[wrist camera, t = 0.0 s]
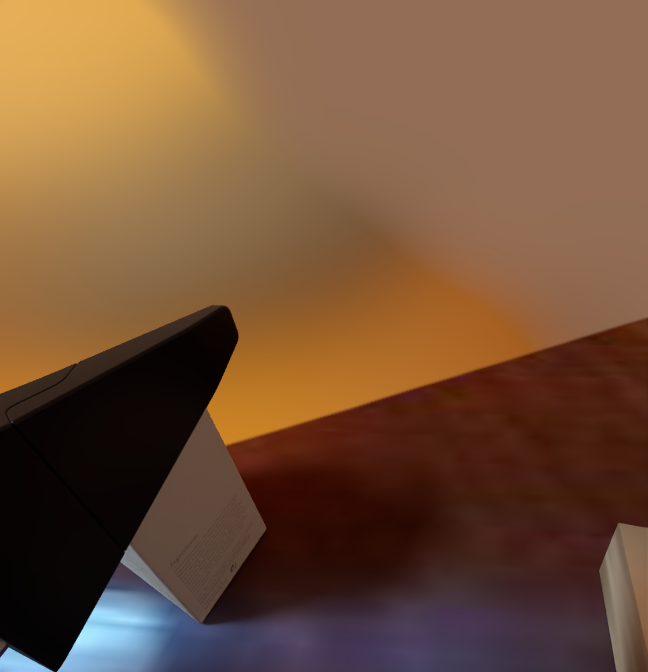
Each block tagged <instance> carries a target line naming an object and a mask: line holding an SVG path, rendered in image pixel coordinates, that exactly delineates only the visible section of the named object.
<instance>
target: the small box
mask: <svg viewBox="0 0 648 672" xmlns="http://www.w3.org/2000/svg"><path fill="white" fill-rule="evenodd" d="M265 531H266V526H265V524H264V522H263V520H262V518H261V516H260V514H259V512H258V510H257V508H256V506H255V504H254V502H253V500H252V498H251V496H250V494H249V492H248V490H247V488H246V486H245V484H244V482H243V480H242V478H241V476H240V474H239V472H238V470H237V468H236V466H235V464H234V462H233V460H232V458H231V456H230V454H229V452H228V450H227V448H226V446H225V444H224V442H223V440H222V438H221V436H220V434H219V432H218V431H217V429H216V427H215V425H214V423H213V421H212V419H211V417H210V414H209V413H208V411H207V409H205V411H204V413H203V415H202V417H201V418H200V420H199V422H198V424H197V425H196V427H195V429H194V431H193V433H192V434H191V436H190V438H189V440H188V441H187V443H186V445H185V447H184V449H183V450H182V452H181V454H180V456H179V457H178V459H177V461H176V463H175V465H174V466H173V468H172V470H171V472H170V474H169V475H168V477H167V479H166V481H165V482H164V484H163V486H162V488H161V490H160V491H159V493H158V495H157V497H156V498H155V500H154V502H153V504H152V506H151V507H150V509H149V511H148V513H147V514H146V516H145V518H144V520H143V522H142V523H141V525H140V527H139V529H138V530H137V532H136V534H135V536H134V538H133V539H132V541H131V543H130V545H129V546H128V548H127V550H126V551H124V552H125V554H124V556H123V558H122V560H121V561H120V562H121V563H123V564H124V565H125V566H126V567H128V568H129V569H130V570H132V571H133V572H134V573H135V574H137V575H138V576H139V577H141V578H142V579H143V580H144V581H146V582H147V583H148V584H150V585H151V586H152V587H154V588H155V589H156V590H157V591H159V592H160V593H161V594H163V595H164V596H165V597H166V598H168V599H169V600H170V601H172V602H173V603H174V604H176V605H177V606H178V607H179V608H181V609H182V610H183V611H184V612H186V613H187V614H188V615H189V616H191V617H192V618H193V619H194V620H196V621H197V622H198V623H202V622H203V621H204V619H205V618H206V616H207V615H208V613H209V612H210V610H211V609H212V608H213V606H214V605H215V603H216V602H217V600H218V599H219V597H220V596H221V594H222V593H223V592H224V590H225V589H226V587H227V586H228V584H229V583H230V581H231V580H232V578H233V577H234V575H235V574H236V573H237V571H238V570H239V568H240V567H241V565H242V564H243V562H244V561H245V559H246V558H247V557H248V555H249V554H250V552H251V551H252V549H253V548H254V546H255V545H256V543H257V542H258V541H259V539H260V538H261V536H262V535H263V533H264V532H265Z"/></svg>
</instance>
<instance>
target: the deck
mask: <svg viewBox="0 0 648 672" xmlns="http://www.w3.org/2000/svg"><path fill="white" fill-rule="evenodd" d="M599 572H600V577H601V583H602V589H603V595H604V601H605V607H606V613H607V619H608V625H609V630H610V636H611V642H612V648H613V654H614V660H615V666H616V672H648V528H643V527H638V526H633V525H627V524H622V523H618V526H617V528H616V531H615V533H614V536H613V538H612V540H611V543H610V545H609V548H608V550H607V553H606V555H605V558H604V560H603V563H602V565H601V568H600V570H599Z"/></svg>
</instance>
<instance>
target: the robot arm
mask: <svg viewBox="0 0 648 672" xmlns="http://www.w3.org/2000/svg"><path fill="white" fill-rule="evenodd" d="M237 342H238V330H237V328H236V325H235V322H234V320H233V317H232V314H231V311H230V309H228V307H226V306H222V305H212V306H209V307H207V308H204V309H202V310H200V311H197V312H195V313H193V314H190V315H188V316H186V317H183V318H181V319H178V320H176V321H174V322H172V323H169V324H167V325H164V326H162V327H160V328H158V329H155V330H153V331H150V332H148V333H146V334H143V335H141V336H139V337H136V338H134V339H132V340H129V341H127V342H125V343H122V344H120V345H118V346H115V347H113V348H111V349H108V350H106V351H103V352H101V353H99V354H97V355H94V356H92V357H89V358H87V359H85V360H83V361H80V362H79V363H78V364H73V365H71V366H68V367H66V368H64V369H61V370H59V371H57V372H54V373H51V374H49V375H47V376H44V377H42V378H39V379H37V380H34V381H32V382H29V383H27V384H24V385H22V386H19V387H17V388H14V389H12V390H9V391H7V392H4V393H1V394H0V657H1V656H2V655H3V654H4V652H5V651H6V650H7V648H8V647H9V648H11V649H13V650H15V651H16V652H18V653H20V654H22V655H24V656H26V657H28V658H29V659H31V660H33V661H35V662H37V663H39V664H40V665H42V666H44V667H46V668H48V669H50V670H51V671H53V672H57V671H58V670H59V668H60V667H61V666H62V664H63V662H64V661H65V659H66V658H67V656H68V654H69V652H70V650H71V649H72V647H73V645H74V643H75V642H76V640H77V638H78V636H79V634H80V633H81V631H82V629H83V627H84V625H85V624H86V622H87V620H88V618H89V617H90V615H91V613H92V611H93V609H94V608H95V606H96V604H97V602H98V601H99V599H100V597H101V595H102V593H103V592H104V590H105V588H106V586H107V584H108V583H109V581H110V579H111V577H112V576H113V574H114V572H115V570H116V568H117V567H118V565H119V563H120V561H121V560H122V558H123V556H124V554H125V552H124V551H126V550H127V548H128V546H129V545H130V543H131V541H132V539H133V538H134V536H135V534H136V532H137V530H138V529H139V527H140V525H141V523H142V522H143V520H144V518H145V516H146V514H147V513H148V511H149V509H150V507H151V506H152V504H153V502H154V500H155V498H156V497H157V495H158V493H159V491H160V490H161V488H162V486H163V484H164V482H165V481H166V479H167V477H168V475H169V474H170V472H171V470H172V468H173V466H174V465H175V463H176V461H177V459H178V457H179V456H180V454H181V452H182V450H183V449H184V447H185V445H186V443H187V441H188V440H189V438H190V436H191V434H192V433H193V431H194V429H195V427H196V425H197V424H198V422H199V420H200V418H201V417H202V415H203V413H204V411H205V409H206V408H207V406H208V404H209V402H210V401H211V399H212V397H213V395H214V393H215V391H216V389H217V387H218V385H219V383H220V381H221V379H222V376H223V374H224V372H225V369H226V367H227V365H228V363H229V360H230V358H231V356H232V353H233V351H234V349H235V346H236V344H237Z"/></svg>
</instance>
